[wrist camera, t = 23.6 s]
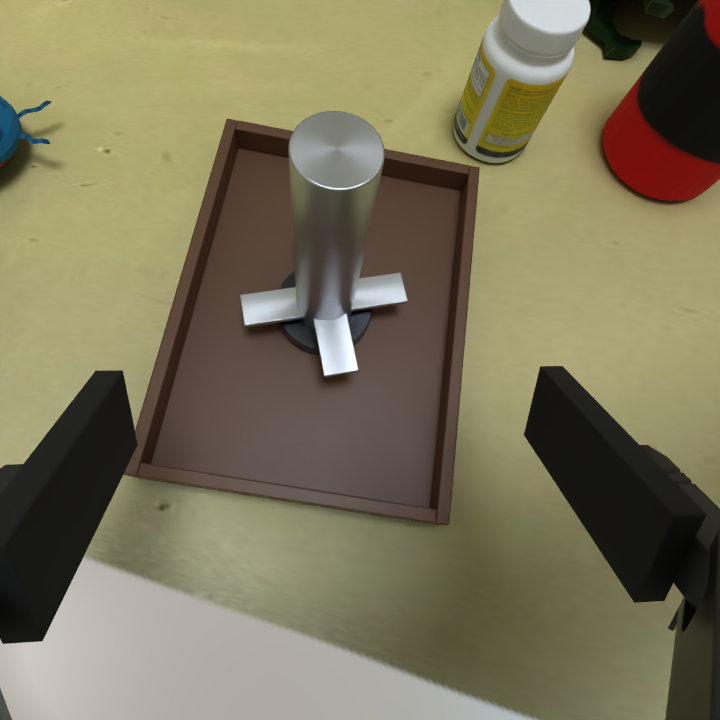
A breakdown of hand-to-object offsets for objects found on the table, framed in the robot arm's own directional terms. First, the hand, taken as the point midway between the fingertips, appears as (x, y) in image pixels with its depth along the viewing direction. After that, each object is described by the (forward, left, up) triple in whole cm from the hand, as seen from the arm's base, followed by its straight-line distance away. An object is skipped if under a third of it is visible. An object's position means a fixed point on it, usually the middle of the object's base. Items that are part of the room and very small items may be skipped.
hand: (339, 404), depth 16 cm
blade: (+1, -7, -8) cm, 11 cm away
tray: (+1, -7, -9) cm, 11 cm away
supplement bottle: (-7, -21, -9) cm, 23 cm away
